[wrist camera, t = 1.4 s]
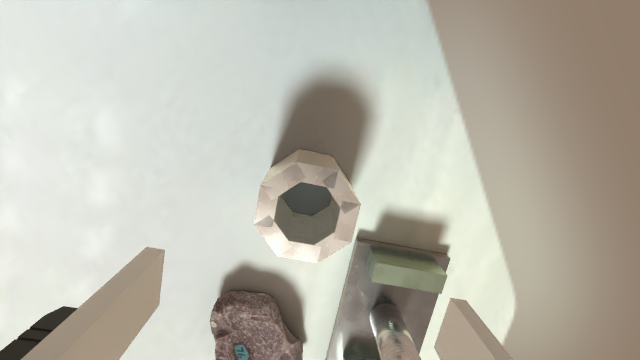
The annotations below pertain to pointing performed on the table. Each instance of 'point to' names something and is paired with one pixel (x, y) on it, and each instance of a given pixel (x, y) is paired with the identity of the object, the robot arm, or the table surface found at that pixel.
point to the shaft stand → (386, 302)
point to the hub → (299, 229)
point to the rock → (251, 329)
